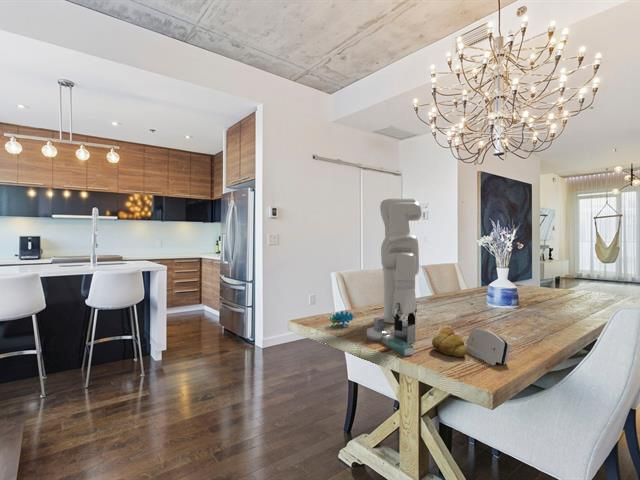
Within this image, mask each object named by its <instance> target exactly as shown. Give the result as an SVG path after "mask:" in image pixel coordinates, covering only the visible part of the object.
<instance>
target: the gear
mask: <svg viewBox="0 0 640 480" xmlns="http://www.w3.org/2000/svg"><path fill="white" fill-rule="evenodd" d="M353 319H354V315H353V313H352V312H349V311H345V313H344V311H343V310H342V311H340V312H337V311H336V313H335V314H333V315H332V317H331V316H330V317H329V321H331V324H332V327H333V328H335V324H338V325H339V324H341V323H342V324H341V325H342V328H343V329H344V328H346V323H348V324H349V323H350V321H353Z"/></svg>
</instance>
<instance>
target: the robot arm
mask: <svg viewBox="0 0 640 480" xmlns="http://www.w3.org/2000/svg"><path fill="white" fill-rule="evenodd" d="M379 208H380V216H381V219H382V221H383V222H382V223H383V224H384V239H383V241H382V243H381V245H380V258H381V259H380V260H381V266H382V272H383V315H382V316H380V317H381V318H383V319H384V323H389V324H393V330H394V329H395V330H398V331H402V322H406V323H411V324H415V325H416V317H417V311H418V310H417V309H418V307H419V306H418V303H416V302H417V301H416V276H417V275H418V274H419V271H420V255H419V253H420V252H419V240H418V238H417V236H415V235H413V234H410V232H411V230H410V222H409V221H412V222H413V221H414V222H415V221H419V220H421V218H422V206H421V204H420V203H419V202H418V201H417V199H415V198H386V199H383V200H381V202H380V205H379Z"/></svg>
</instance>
